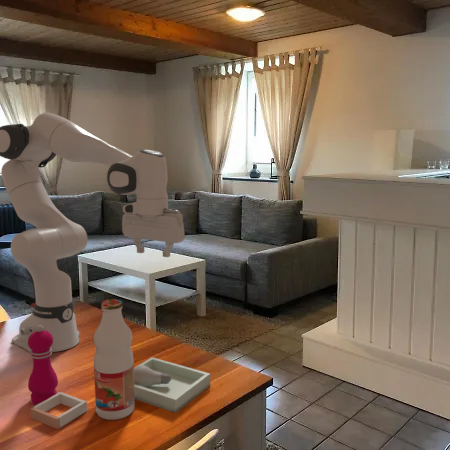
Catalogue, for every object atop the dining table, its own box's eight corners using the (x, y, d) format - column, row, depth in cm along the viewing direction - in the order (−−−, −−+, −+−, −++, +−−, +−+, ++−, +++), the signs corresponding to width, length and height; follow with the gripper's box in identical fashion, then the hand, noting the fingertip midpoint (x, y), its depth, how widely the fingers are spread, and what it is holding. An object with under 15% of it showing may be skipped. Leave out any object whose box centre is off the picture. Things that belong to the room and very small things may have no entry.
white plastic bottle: (141, 412, 122) (139, 303, 117) (106, 425, 116) (102, 311, 111) (123, 396, 129) (120, 293, 124) (89, 408, 123) (84, 300, 118)
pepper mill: (35, 391, 131) (31, 319, 128) (62, 392, 131) (59, 320, 128) (24, 406, 124) (19, 330, 121) (52, 406, 124) (48, 331, 120)
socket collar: (30, 418, 119) (30, 408, 118) (60, 400, 127) (60, 391, 126) (57, 429, 114) (57, 419, 114) (87, 410, 122) (86, 401, 122)
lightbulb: (169, 396, 131) (127, 393, 130) (170, 382, 137) (130, 379, 136) (171, 375, 129) (128, 372, 128) (172, 363, 135) (132, 360, 134)
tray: (114, 392, 131) (113, 379, 131) (152, 368, 145) (152, 357, 144) (175, 413, 121) (175, 399, 121) (210, 385, 135) (210, 373, 134)
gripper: (188, 208, 139) (189, 256, 141) (132, 203, 149) (133, 248, 151) (175, 211, 133) (176, 261, 136) (118, 206, 144) (119, 252, 146)
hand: (153, 254), depth 144 cm, fingers open, 8 cm apart
